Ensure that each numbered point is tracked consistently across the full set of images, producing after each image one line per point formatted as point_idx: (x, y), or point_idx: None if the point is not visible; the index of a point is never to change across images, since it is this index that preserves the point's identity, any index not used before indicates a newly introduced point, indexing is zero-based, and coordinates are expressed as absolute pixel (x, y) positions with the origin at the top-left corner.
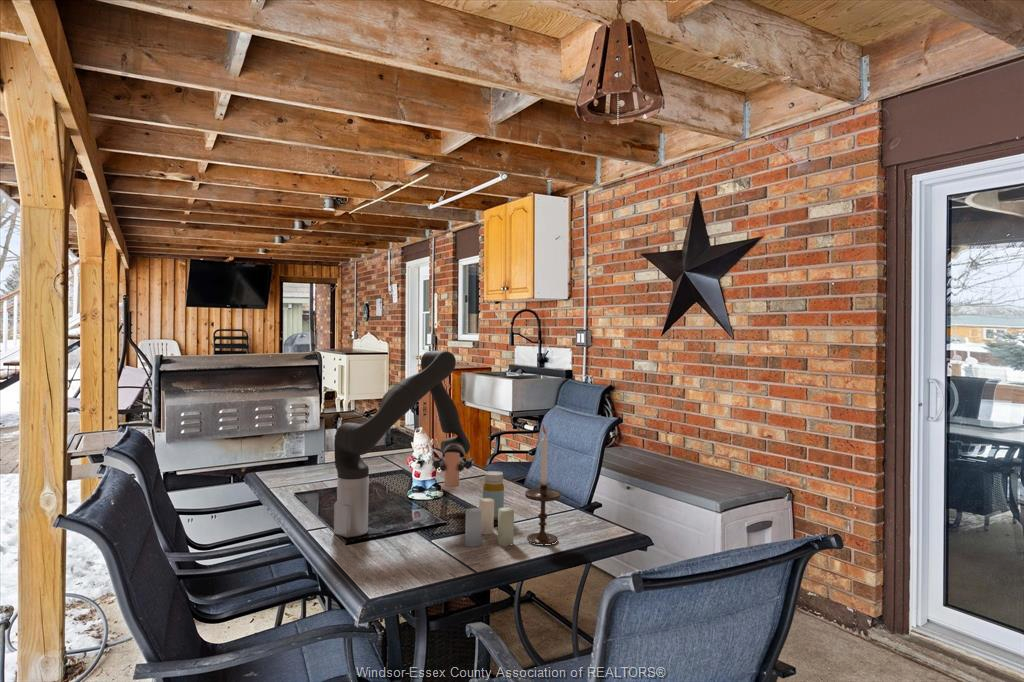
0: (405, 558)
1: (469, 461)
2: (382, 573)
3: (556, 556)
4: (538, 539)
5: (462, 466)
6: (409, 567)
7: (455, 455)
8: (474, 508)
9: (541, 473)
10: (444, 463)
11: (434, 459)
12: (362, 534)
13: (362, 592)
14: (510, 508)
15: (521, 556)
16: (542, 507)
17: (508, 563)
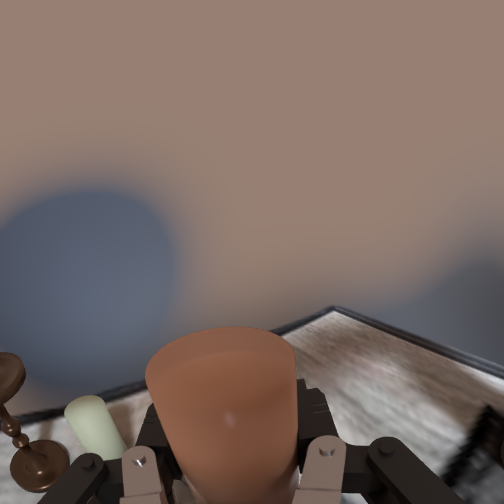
0: (341, 392)
1: (79, 458)
2: (352, 348)
3: (60, 408)
4: (48, 457)
5: None
6: (319, 368)
7: (193, 336)
8: None
9: None
10: None
11: (432, 478)
12: (501, 449)
13: (349, 316)
14: (68, 416)
15: (113, 413)
16: (3, 405)
17: (146, 393)
